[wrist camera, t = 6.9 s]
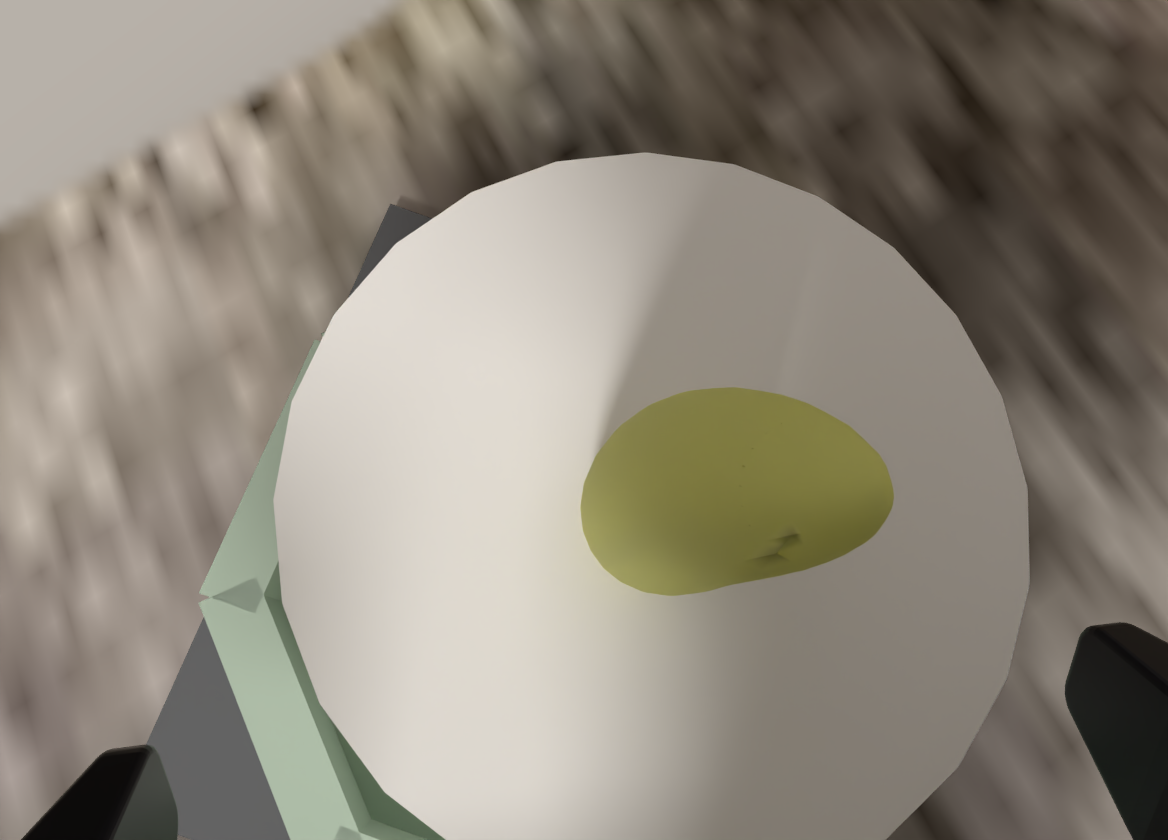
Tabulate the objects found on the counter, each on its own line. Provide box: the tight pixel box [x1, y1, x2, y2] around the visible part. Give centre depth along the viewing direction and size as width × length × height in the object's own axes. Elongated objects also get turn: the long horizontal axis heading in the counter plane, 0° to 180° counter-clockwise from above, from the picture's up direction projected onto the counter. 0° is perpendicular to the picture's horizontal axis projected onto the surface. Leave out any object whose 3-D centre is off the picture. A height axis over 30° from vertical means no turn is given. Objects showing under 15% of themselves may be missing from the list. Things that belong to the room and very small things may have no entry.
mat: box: [146, 204, 431, 840], centre depth 19 cm, size 13×13×1 cm
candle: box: [273, 152, 1030, 840], centre depth 11 cm, size 6×6×15 cm
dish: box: [199, 332, 445, 840], centre depth 18 cm, size 12×12×2 cm
